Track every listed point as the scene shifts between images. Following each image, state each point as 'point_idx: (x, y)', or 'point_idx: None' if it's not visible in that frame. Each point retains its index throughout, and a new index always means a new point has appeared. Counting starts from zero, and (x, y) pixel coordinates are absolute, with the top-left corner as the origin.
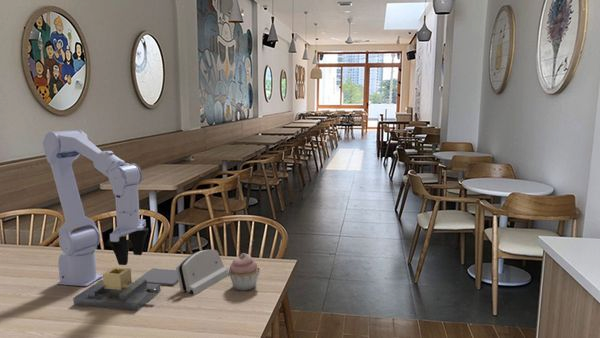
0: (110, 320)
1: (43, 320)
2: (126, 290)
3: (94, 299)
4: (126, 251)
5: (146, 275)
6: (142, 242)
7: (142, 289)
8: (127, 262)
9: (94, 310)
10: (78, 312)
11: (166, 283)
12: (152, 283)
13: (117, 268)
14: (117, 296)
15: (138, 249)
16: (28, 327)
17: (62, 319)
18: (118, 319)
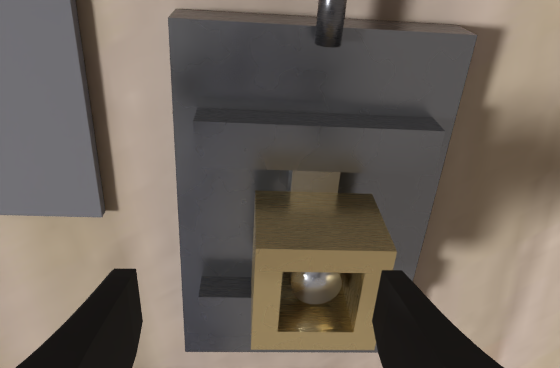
0: (554, 114)
1: (509, 347)
2: (379, 161)
3: (414, 271)
4: (482, 363)
5: (5, 194)
6: (85, 358)
7: (273, 99)
8: (386, 277)
9: (438, 233)
10: (453, 279)
11: (72, 10)
12: (88, 111)
13: (269, 322)
14: (379, 190)
15: (122, 327)
16: (556, 357)
17: (510, 298)
18: (550, 80)
